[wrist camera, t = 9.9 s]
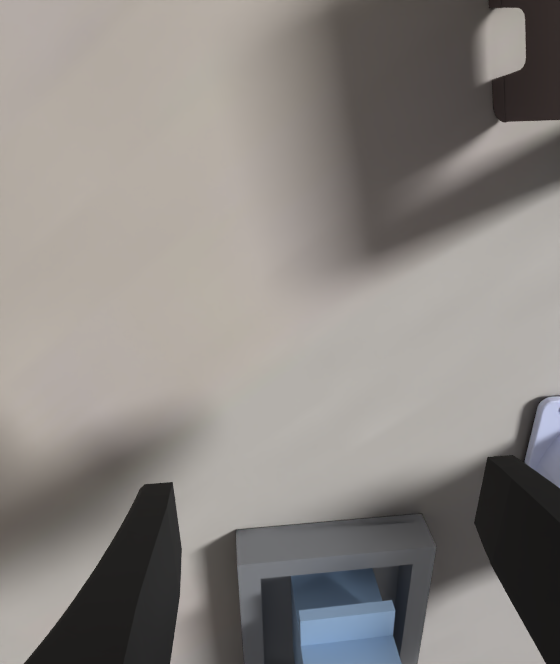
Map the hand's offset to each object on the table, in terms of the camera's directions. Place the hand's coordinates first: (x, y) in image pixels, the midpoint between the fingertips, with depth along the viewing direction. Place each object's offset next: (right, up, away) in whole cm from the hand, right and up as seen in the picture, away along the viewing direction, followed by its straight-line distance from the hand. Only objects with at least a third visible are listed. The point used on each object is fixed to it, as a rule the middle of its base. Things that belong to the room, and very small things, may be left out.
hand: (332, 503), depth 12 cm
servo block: (+1, -10, +15) cm, 18 cm away
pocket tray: (+1, -10, +16) cm, 19 cm away
